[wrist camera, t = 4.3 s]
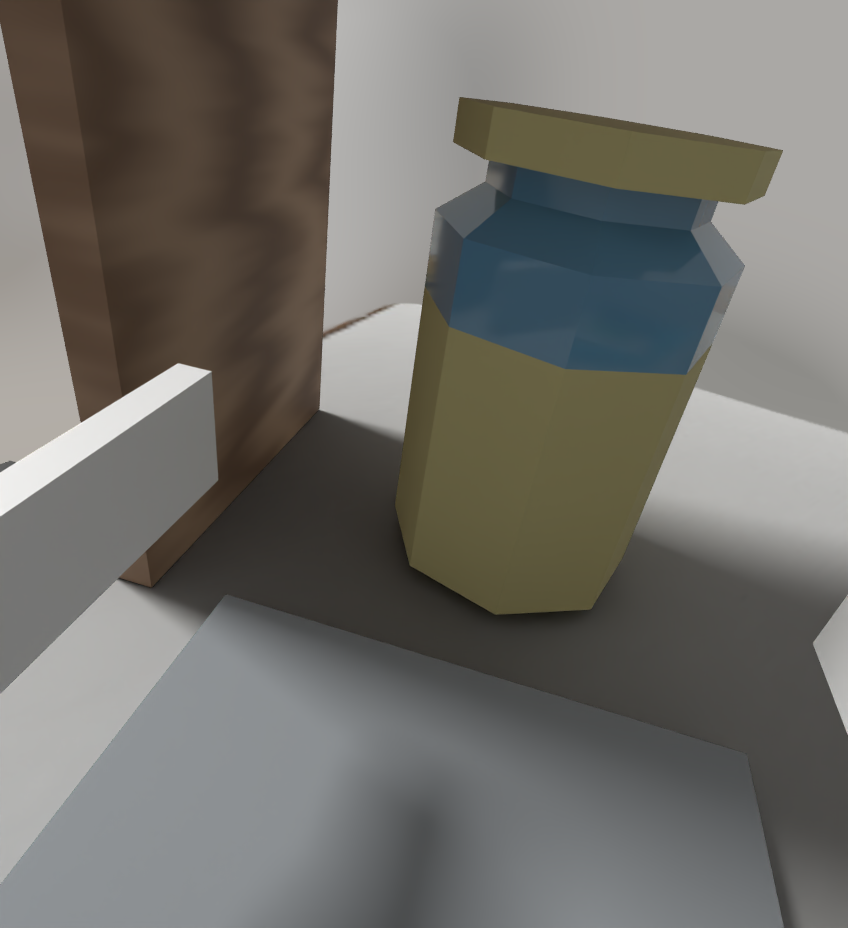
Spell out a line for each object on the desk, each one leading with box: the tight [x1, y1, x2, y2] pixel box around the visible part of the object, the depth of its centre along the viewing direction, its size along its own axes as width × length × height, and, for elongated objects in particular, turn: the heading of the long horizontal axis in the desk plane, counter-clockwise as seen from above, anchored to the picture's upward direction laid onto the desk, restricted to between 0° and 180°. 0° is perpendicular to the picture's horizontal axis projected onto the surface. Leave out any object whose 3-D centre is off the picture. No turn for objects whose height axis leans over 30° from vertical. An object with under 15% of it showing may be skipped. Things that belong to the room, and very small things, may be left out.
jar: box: [395, 97, 783, 615], centre depth 20 cm, size 9×9×15 cm
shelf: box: [0, 0, 338, 588], centre depth 19 cm, size 14×18×22 cm
